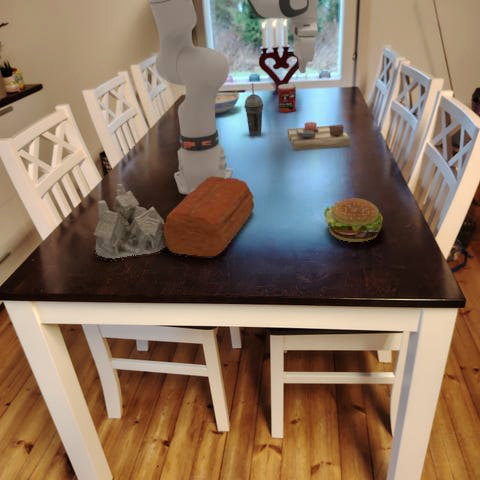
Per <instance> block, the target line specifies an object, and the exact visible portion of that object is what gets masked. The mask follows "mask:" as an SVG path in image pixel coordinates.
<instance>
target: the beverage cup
mask: <svg viewBox="0 0 480 480" xmlns="http://www.w3.org/2000/svg"><path fill="white" fill-rule="evenodd" d="M251 89H252V92H251V93H252V94H250V95H248V96H247V97H246V99H245V101H244V109H245V110H244V111H245V112H246V119H247V125H248V126H247V127H248V132H249V136H250V137H252V136H253V138H254V137H255V136H257V137H261V135H262V122H263V121H262V119H263V109H264V101H263V100H262V97H260V96H259V95H258V94H255V91H254V83H253V82H252V83H251Z"/></svg>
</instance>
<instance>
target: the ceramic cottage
mask: <svg viewBox="0 0 480 480" xmlns="http://www.w3.org/2000/svg"><path fill="white" fill-rule="evenodd" d="M116 195H117V196H116V197H114V202H113V207H112V209H113V210H114V212H113V211H111V210H109V207H108V205H107V202H106V200H99V201H98V202H97V206H98V221H97V224H96V228H95V230H94V231H95V232H94V233H93V236H96V239H95V250H96V252H95V254H96V253H97V255H99V256H102V257H105V258H112V259H115V258H120V257H121V258H122V257H127V256H132V255H133V256H134V255H135V256H136V255H142V254H151V253H155V252H158V251H160V250H161V249H163V248H165V247H166V244H165V235H164V225H165V220H164V219H163V218H162V217H161V216H160V214H159V213H158V212H157V209H155V207H154V206H152V207H150V208H149V209H148V210H147V208H145V207H142V206H140V203H139V202H138V200H137V199H136V197H135V195H134V194H133V192H132V191H131V190H128V191H127V190H126V189H125V187H124V185H123V183H118V184H117V189H116ZM165 249H166V248H165ZM163 250H164V249H163Z"/></svg>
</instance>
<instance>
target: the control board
mask: <svg viewBox="0 0 480 480" xmlns="http://www.w3.org/2000/svg"><path fill="white" fill-rule="evenodd" d="M330 126H331V125H325V126H324V125H323V126H321V125H320V126H316V131H315V132H314V133H315V137H301V136H298V135H297V133H296V132H297V130H305V127H298V128H287V129H286V130H287V139H288V142H289V143H290V146H291V147H292V150H293V151H294V152H295V151H296V152H297V151H308V150H309V151H310V150H319V149H320V150H321V149H333V148H345V147H351V137H350V136H349V135H348V134H347V132H346V131H345V130H344V129H343V135H332V136H331V135H330Z"/></svg>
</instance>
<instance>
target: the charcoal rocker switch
mask: <svg viewBox="0 0 480 480" xmlns="http://www.w3.org/2000/svg"><path fill="white" fill-rule="evenodd" d="M296 133H297V135H298V136H301V137H315V133H314V131H311V130H297V132H296Z"/></svg>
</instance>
